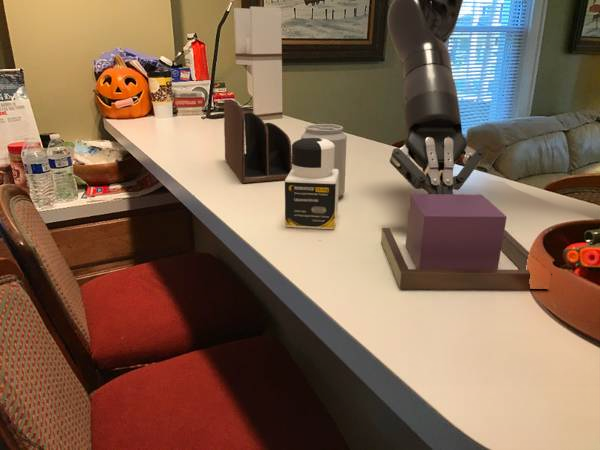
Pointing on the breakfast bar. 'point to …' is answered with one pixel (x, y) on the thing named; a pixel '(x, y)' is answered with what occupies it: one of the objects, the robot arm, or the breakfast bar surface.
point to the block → (454, 231)
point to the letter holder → (255, 146)
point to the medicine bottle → (312, 185)
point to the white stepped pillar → (261, 57)
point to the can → (338, 139)
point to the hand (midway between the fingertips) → (443, 215)
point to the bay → (460, 270)
